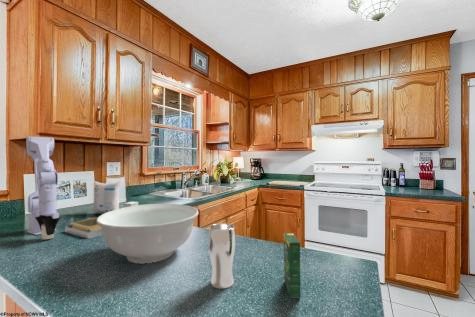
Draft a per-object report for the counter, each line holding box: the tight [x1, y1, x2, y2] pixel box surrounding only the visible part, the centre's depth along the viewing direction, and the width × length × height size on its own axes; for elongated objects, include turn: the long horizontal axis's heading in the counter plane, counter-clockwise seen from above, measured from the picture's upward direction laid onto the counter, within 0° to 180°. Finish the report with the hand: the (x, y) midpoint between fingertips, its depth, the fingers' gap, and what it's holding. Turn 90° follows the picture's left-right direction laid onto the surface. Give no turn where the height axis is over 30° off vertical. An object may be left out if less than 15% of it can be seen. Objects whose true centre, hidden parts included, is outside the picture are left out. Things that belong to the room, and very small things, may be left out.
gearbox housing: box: [64, 216, 103, 239], centre depth 110 cm, size 18×15×4 cm
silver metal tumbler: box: [208, 222, 236, 290], centre depth 64 cm, size 7×7×15 cm
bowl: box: [97, 203, 199, 265], centre depth 83 cm, size 32×32×15 cm
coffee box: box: [283, 232, 301, 299], centre depth 60 cm, size 8×3×13 cm, turn 178°
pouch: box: [92, 180, 121, 214], centre depth 142 cm, size 8×19×20 cm, turn 69°
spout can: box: [41, 224, 55, 240], centre depth 99 cm, size 4×4×7 cm
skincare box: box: [122, 201, 139, 208], centre depth 116 cm, size 6×4×12 cm
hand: (47, 233), depth 99 cm, fingers closed on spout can, 4 cm apart
